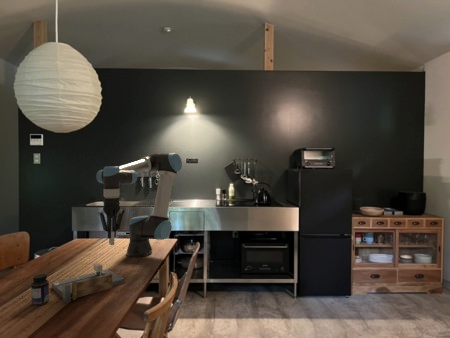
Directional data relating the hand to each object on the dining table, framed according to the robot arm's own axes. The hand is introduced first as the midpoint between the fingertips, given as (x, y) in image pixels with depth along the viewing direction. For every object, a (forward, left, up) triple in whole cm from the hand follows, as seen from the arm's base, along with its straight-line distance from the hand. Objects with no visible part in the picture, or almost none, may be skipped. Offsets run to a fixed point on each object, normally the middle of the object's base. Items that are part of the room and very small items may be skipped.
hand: (111, 244), depth 155 cm
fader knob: (+7, 0, -13) cm, 15 cm away
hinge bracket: (+26, +15, -16) cm, 34 cm away
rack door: (+15, +15, -16) cm, 27 cm away
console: (+13, +4, -16) cm, 21 cm away
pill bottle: (+34, +9, -16) cm, 39 cm away
